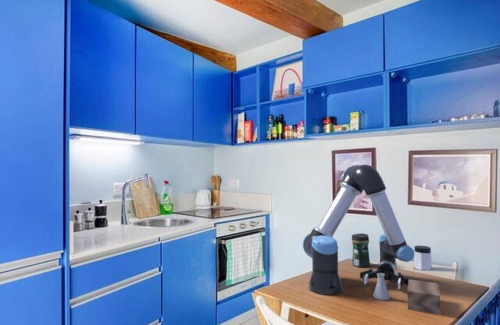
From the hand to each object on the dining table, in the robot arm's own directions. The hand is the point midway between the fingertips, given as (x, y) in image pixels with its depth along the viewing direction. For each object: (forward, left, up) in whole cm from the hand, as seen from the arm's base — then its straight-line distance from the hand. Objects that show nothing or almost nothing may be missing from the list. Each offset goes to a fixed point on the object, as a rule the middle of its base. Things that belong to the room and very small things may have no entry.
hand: (381, 283), depth 136 cm
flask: (0, 0, -6) cm, 6 cm away
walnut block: (+16, 0, -6) cm, 17 cm away
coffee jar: (-16, +47, -6) cm, 50 cm away
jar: (+16, +57, -6) cm, 59 cm away
